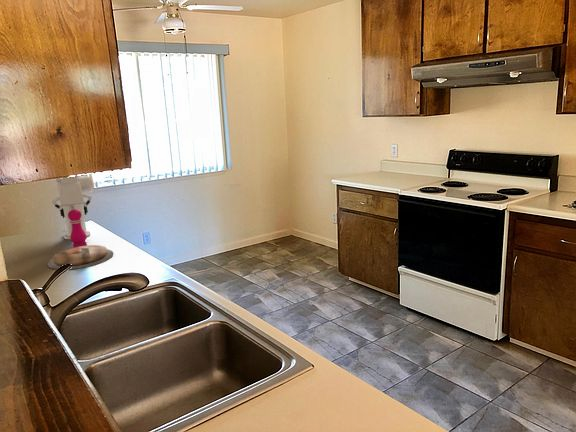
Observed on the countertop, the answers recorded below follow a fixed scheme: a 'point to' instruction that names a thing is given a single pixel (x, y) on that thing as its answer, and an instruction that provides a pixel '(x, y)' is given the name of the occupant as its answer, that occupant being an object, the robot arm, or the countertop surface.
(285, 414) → the countertop surface
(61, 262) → the turntable
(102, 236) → the countertop surface
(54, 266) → the base
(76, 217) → the pepper mill
